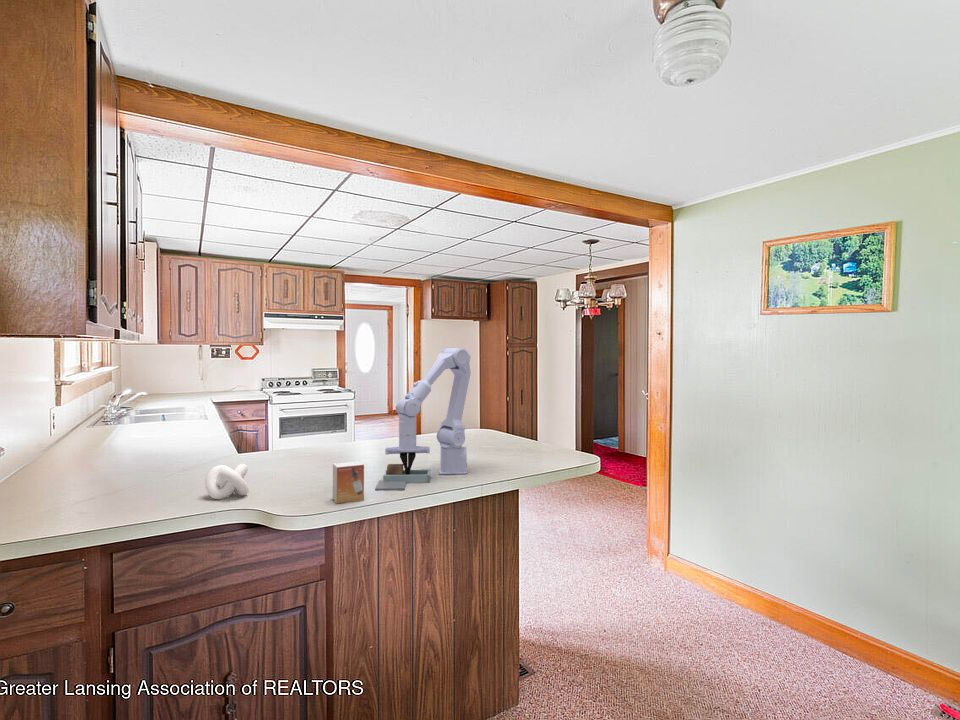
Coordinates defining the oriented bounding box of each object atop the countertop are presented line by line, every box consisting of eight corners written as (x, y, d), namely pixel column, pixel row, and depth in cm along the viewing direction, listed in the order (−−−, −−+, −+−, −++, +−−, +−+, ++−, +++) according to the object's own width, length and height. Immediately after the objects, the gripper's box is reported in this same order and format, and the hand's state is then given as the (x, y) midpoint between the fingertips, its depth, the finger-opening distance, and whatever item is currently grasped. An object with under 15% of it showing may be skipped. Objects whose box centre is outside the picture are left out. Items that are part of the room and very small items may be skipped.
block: (403, 478, 166) (403, 463, 166) (402, 481, 162) (402, 466, 162) (388, 478, 166) (388, 464, 166) (386, 482, 162) (386, 466, 162)
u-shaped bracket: (430, 476, 168) (430, 469, 168) (429, 482, 161) (429, 475, 161) (385, 477, 167) (385, 470, 167) (383, 483, 160) (383, 475, 160)
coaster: (406, 482, 162) (406, 480, 162) (404, 490, 153) (404, 488, 153) (379, 482, 161) (379, 480, 161) (375, 490, 152) (375, 488, 152)
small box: (336, 504, 139) (336, 467, 139) (332, 498, 144) (332, 463, 144) (364, 500, 143) (364, 464, 142) (359, 495, 148) (359, 460, 147)
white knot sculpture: (261, 494, 148) (261, 464, 148) (222, 505, 138) (222, 473, 137) (239, 488, 154) (239, 459, 154) (200, 498, 144) (200, 467, 143)
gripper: (429, 431, 169) (428, 471, 169) (385, 432, 167) (385, 472, 167) (430, 435, 162) (429, 476, 162) (385, 436, 160) (385, 478, 160)
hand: (407, 475), depth 164 cm, fingers closed
